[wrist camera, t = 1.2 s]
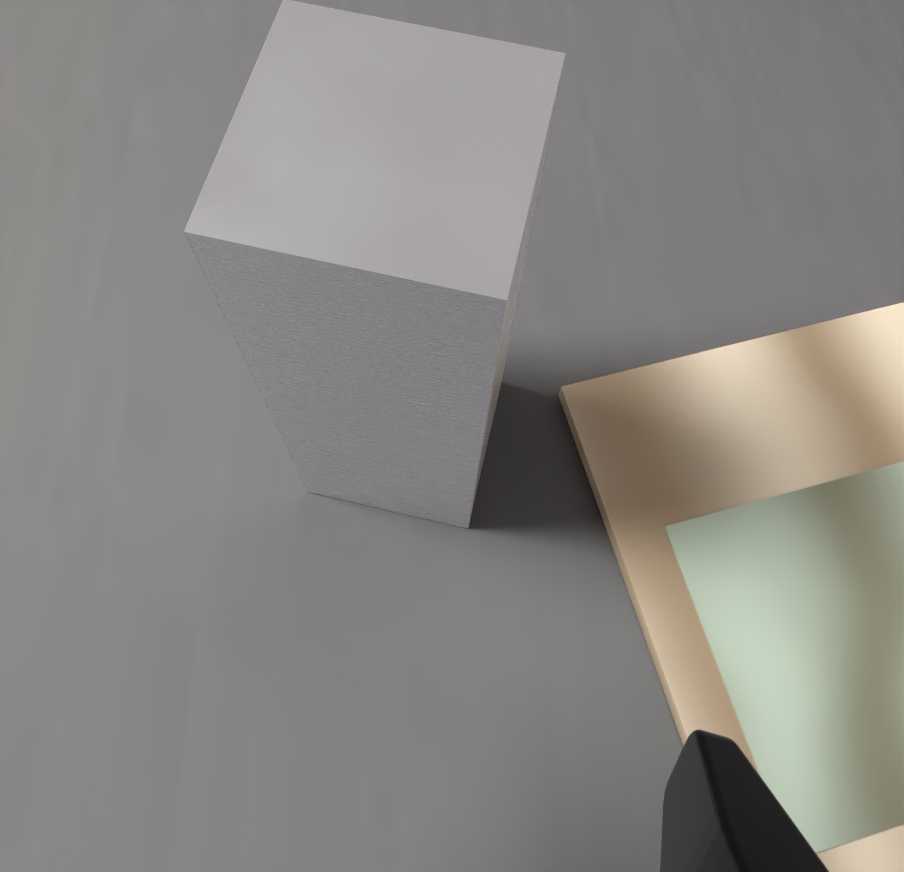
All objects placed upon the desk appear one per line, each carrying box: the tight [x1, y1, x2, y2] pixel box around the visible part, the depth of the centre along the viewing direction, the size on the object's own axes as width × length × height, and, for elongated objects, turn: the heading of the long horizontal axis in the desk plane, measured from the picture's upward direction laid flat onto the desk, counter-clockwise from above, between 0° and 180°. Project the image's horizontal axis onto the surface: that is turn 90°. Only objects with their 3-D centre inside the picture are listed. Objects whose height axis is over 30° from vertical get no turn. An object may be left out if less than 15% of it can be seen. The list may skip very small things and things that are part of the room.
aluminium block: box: [184, 0, 565, 529], centre depth 19 cm, size 5×5×13 cm
